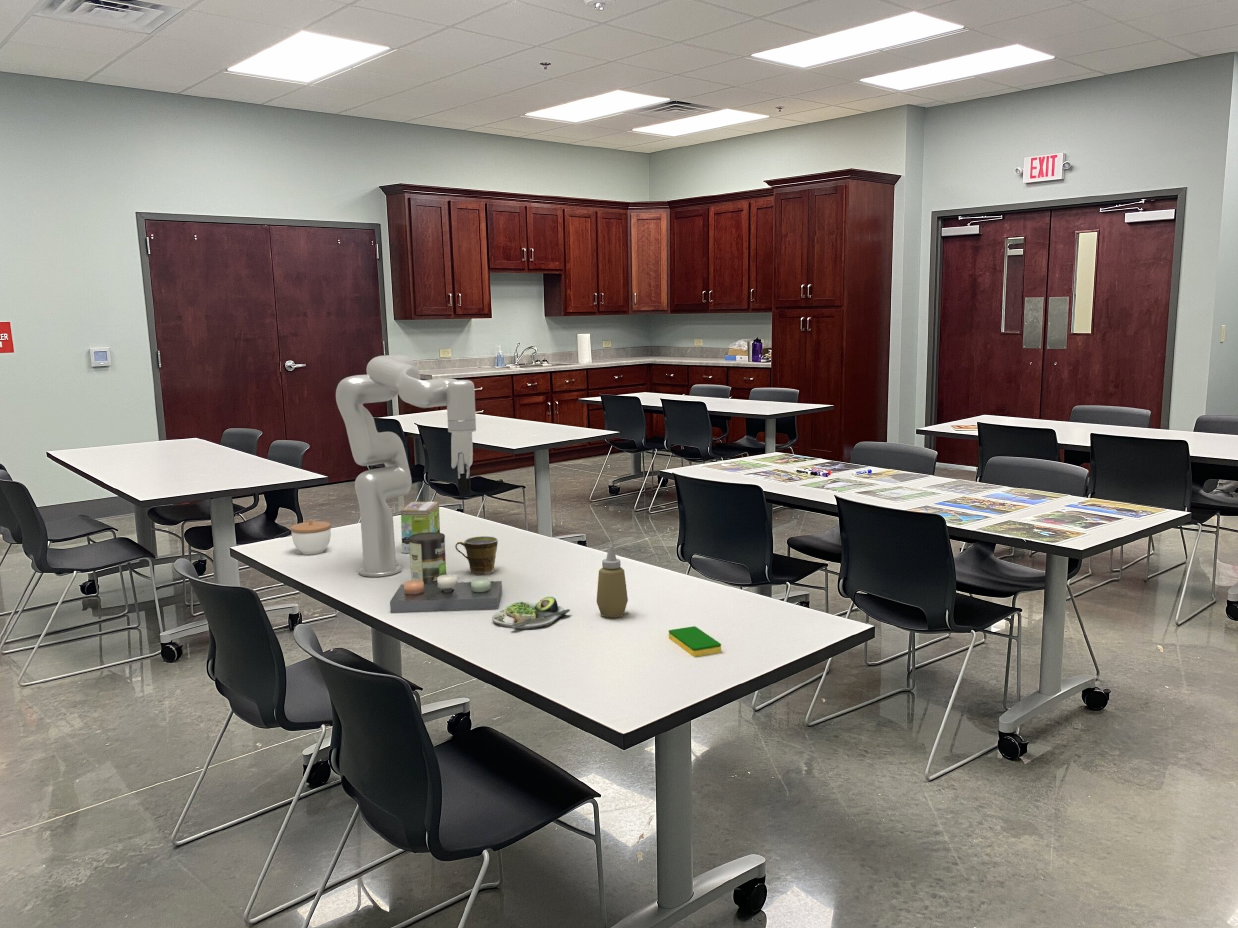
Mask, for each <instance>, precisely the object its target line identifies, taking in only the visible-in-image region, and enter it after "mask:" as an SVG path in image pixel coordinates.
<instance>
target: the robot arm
mask: <svg viewBox="0 0 1238 928" xmlns="http://www.w3.org/2000/svg"><path fill="white" fill-rule="evenodd" d="M397 396H399V398H400V399H401V400H402V401H403V402H405V403H407V404H410V405H411V406H413V407H414V406H415V407H418V408H421V409H427V408H428V409H429V408H434V407H435V408H436V407H446V412H447V413H446V414H447V432H448V433H451V441H450V443H451V445H450V450H451V453H450V454H451V455H450V457H451V460H450V461H451V464H450V465H451V469H456V467H457V476H458V477H457V485H458V489H457V490H458V493H459V494H470V493H471V491H472V487H471V485H472V483H471V477H470V475H471V471H470V467H471V466H472V464H473V459H474V458H473V456H474V452H473V450H474V448H473V446H474V444H473V443H474V442H473V432H476V431H477V423H476V422H477V420H476V398H475V397H476V394H475V384H474V381H471V380H469V379H456V378H451V377H449V378H448V377H447V378H446V377H445V378H433V379H432V378H431V379H421V373H420V371H419V369H418V368H417V366H416V363H415V361H414V360H413V359H412V358H411V357H410V356H408V355H405V354H392V355H391V354H389V355H388V354H387V355H378V356H375V357H373V358H372V359H371V360H370V361H369V362H368V363H367V365H366V374H356V375H351V376H347V377H345V378H343V379H342V380H340V381H339V382H338V384H337V387H336V389H335V401H336V406H337V408H338V410H339V412H340V415H341V418H342V419H343V423H344V425H345V429H346V434H347V437H348V443H349V447H350V450H351V453H352V457H353V459H354V462H355V463H356V464H357V465H359V466H361V467H368V466H375V465H381V464H384V467H381V468H380V467H379V468H372V469H369V470H365V471H363V472H361V473H360V474H359V475H357V477H356V478H355V481H354V490H355V493H356V497H357V501H358V508H359V515H360V529H361V543H362V544H361V545H362V560H363V566H361V567H360V568H359V569H358V574H359V575H360V576H362V577H370V578H377V577H379V578H381V577H387V576H393V575H395V574H398V573H400V572H401V570H402V565H400V564H399V563H397V562H396V561H397V560H396V545H395V542H396V541H395V529H394V526H395V525H394V515H393V510H392V509H391V507H390V506H389V504H388V503H387V501H386V500H389V499H393V498H399V497H401V496H402V497H403V496H405V495H407V494H408V493H410V490H411V489H412V483H413V481H412V475H411V470H410V466H409V462H408V458H407V454H406V449H405V447H404V442H403V440H402V439H401V437H400V436H399V435H398V434H397V433H395V432H393V431H382V432H379V431H378V430H377V426H376V422H375V418H374V417H373V415H372V414H371V412H370V411H369V410H368V408H366V407H365V406H364V404H371V403H372V404H373V403H382V402H388V401H391V400H393V399H395V398H396V397H397Z"/></svg>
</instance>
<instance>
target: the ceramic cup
mask: <svg viewBox="0 0 1238 928" xmlns="http://www.w3.org/2000/svg"><path fill="white" fill-rule="evenodd" d="M498 541H499V539H498V538H497V537H495V536H488V535H487V536H485V535H483V536H473V537H469V538H467V539H465V540H464V541H458V542H456V544H455V550H456V551H457V552H458V553H459V554H462V556H463V557H464V558H466V560H467V561H468V566H469V569H470V574H472V573H473V574H472V575H474V574H475V576H486V575H485V574H487V575H491V574H490V573H492V572H494V570H495V566H496V565H495V563H496V555H497V554H496V553H497V550H498V543H499V542H498ZM458 545H461V546H462V547H464V550H465V552H466V554H465V553H463V552H462V551H461V550H459V549H458ZM492 574H493V573H492Z"/></svg>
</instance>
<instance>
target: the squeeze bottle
mask: <svg viewBox="0 0 1238 928" xmlns="http://www.w3.org/2000/svg"><path fill="white" fill-rule="evenodd" d="M606 553H607V554H606V558H604V559H603V560H602V561H601V562H602V564H601V565H602V567H601V568H600V569H599V570H598V578H597V588H596V589H597V590H596V605H597V607H598V610H599V612H600V615H601V616H602V617H604V618H613V619H614V618H620V617H622V616H624V615H625V611H626V608H627V604H628V601H629V597H628V590H627V589H628V588H627V582H626V575H625V574H626V573H625V569H624V568H623V567H621V560H620V559H619V558H617V556H616V552H615V548H614V546H613V545H609V546H608V549H607V552H606Z"/></svg>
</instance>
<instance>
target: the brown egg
mask: <svg viewBox="0 0 1238 928" xmlns="http://www.w3.org/2000/svg"><path fill="white" fill-rule="evenodd" d="M403 584H404V593H405V594H420V593H422V592H424V582H423V581H419V580H413V581H412V580H408V581H406V582H404V583H403Z"/></svg>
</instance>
